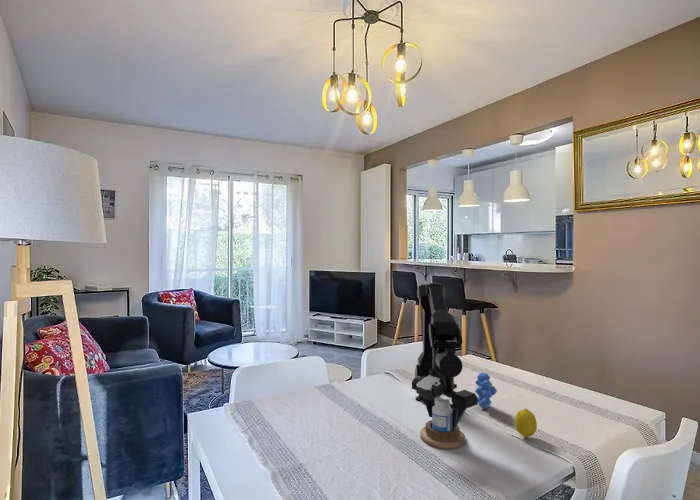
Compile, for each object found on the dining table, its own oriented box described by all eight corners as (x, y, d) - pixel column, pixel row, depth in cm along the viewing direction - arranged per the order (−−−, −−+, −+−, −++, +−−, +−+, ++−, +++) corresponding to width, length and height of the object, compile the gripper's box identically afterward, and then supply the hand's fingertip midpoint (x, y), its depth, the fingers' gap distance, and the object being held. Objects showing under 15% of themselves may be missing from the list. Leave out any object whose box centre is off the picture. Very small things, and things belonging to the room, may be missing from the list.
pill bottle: (442, 428, 114) (442, 393, 113) (456, 435, 109) (456, 400, 109) (427, 432, 111) (428, 397, 111) (441, 440, 106) (441, 404, 106)
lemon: (535, 434, 112) (535, 406, 112) (537, 444, 107) (538, 414, 107) (513, 431, 114) (514, 403, 114) (515, 440, 109) (515, 411, 109)
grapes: (502, 416, 124) (503, 378, 124) (480, 416, 124) (481, 377, 124) (491, 402, 135) (492, 366, 135) (471, 401, 136) (471, 366, 136)
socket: (429, 424, 118) (430, 413, 118) (470, 435, 112) (470, 423, 112) (413, 441, 108) (413, 429, 108) (457, 453, 101) (457, 441, 101)
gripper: (398, 362, 112) (397, 417, 112) (451, 380, 97) (450, 444, 97) (425, 355, 119) (424, 408, 119) (479, 372, 104) (478, 432, 104)
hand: (442, 422), depth 110 cm, fingers open, 8 cm apart
